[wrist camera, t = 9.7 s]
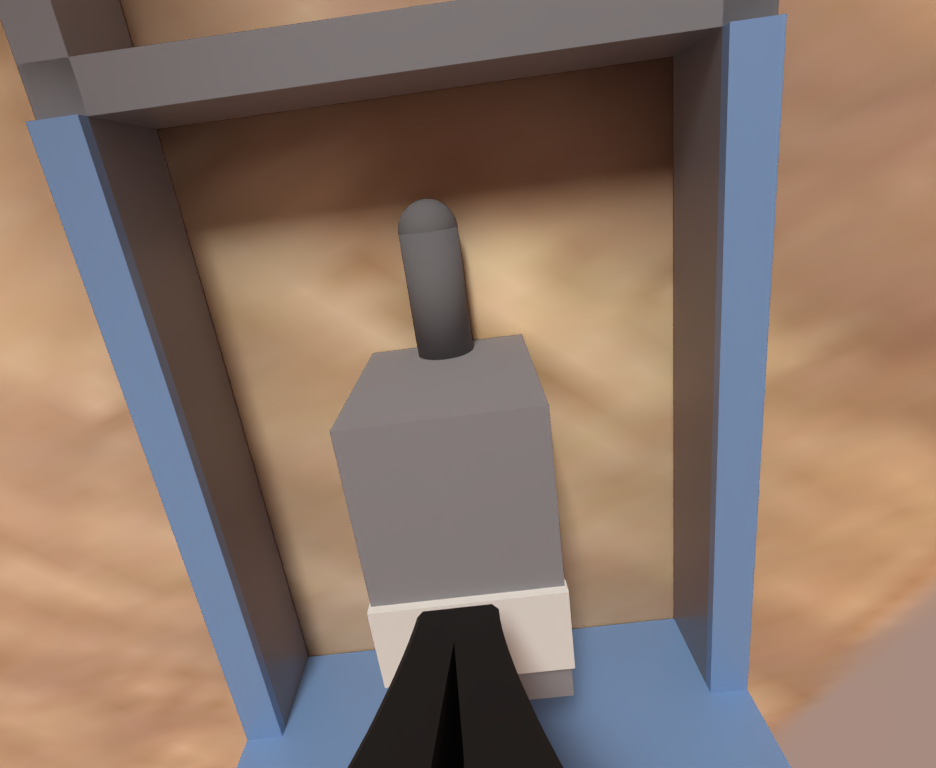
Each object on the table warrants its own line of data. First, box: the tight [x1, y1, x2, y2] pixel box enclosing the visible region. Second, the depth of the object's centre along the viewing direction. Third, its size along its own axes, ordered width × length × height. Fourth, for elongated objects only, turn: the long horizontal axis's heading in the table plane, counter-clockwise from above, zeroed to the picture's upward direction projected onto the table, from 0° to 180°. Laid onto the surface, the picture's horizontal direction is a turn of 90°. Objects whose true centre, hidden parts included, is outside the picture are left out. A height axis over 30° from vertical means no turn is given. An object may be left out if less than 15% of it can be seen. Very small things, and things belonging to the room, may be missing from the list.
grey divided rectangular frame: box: [0, 0, 791, 768], centre depth 10 cm, size 14×34×5 cm, turn 7°
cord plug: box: [330, 199, 575, 700], centre depth 13 cm, size 4×11×5 cm, turn 7°
